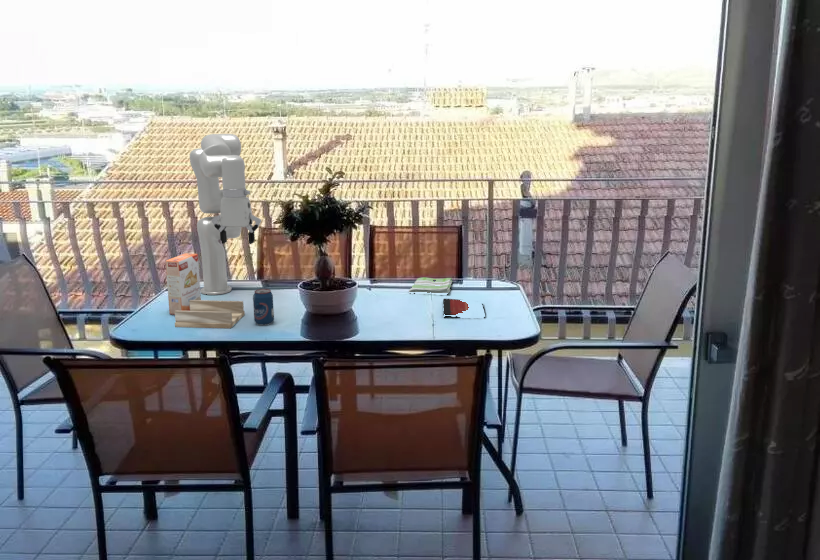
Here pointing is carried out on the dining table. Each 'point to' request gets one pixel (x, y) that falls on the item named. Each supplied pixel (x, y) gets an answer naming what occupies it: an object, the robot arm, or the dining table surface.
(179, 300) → the cracker box
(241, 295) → the dining table surface
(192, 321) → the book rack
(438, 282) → the dish towel
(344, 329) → the dining table surface
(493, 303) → the dining table surface
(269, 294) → the soda can
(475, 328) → the dining table surface
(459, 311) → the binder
